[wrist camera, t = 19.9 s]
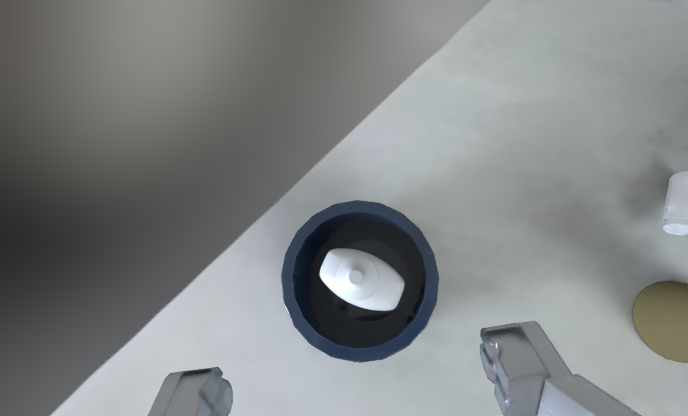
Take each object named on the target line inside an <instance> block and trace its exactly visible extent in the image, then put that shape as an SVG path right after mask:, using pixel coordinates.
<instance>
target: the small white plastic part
mask: <svg viewBox="0 0 688 416" xmlns="http://www.w3.org/2000/svg"><path fill="white" fill-rule="evenodd" d="M661 224H662V225H663V226H664V227H663V229H664V231H666V232H667V233H670V234H674V235H687V234H688V171H682V172H678V173H676V174H674V175H672V176H671V177H670V179H669V185H668V190H667V196H666V201H665V206H664V212H663V217H662V221H661Z"/></svg>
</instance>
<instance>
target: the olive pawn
mask: <svg viewBox="0 0 688 416" xmlns="http://www.w3.org/2000/svg"><path fill="white" fill-rule="evenodd" d="M633 320H634V324H635V327H636V330H637V332H638V333H639V335H640V337H641V338H642V340H643V341H644V342H645V343H646V344H647V345H648V346H649V347H650V348H651V349H652V350H653V351H654V352H656V353H657V354H659V355H661V356H663V357H664V358H666V359H670V360H673V361H677V362H682V363H688V284H685V283H678V282H671V281H670V282H657V283H655V284H652V285H650V286H647V287H646V288H645V289H644V290H643V291H642V292H640V293H639V294H638V296H637V298H636V301H635V303H634V306H633Z"/></svg>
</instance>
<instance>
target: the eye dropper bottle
mask: <svg viewBox="0 0 688 416" xmlns="http://www.w3.org/2000/svg"><path fill="white" fill-rule="evenodd" d="M320 277H321V279H322V281H323V282H324V283H325V284H326V286H327V287H328V288H329V289H330V290H331V291H333V292H334V293H335V294H336V295H337V296H339V297H340V298H342V299H343V300H345V301H347V302H349V303H351V304H353V305H356V306H358V307H361V308H365V309H370V310H378V311H389V310H393V309H395V307H396V306H397V305H398V303H399V300H400V298H401V295H402V293H403V290H404V284H405V283H404V280H403V278H402V277H401V276H400V275H399V274H398V273H397V272H396V271H395V270H394V269H393V268H392V267H391V266H390V265H388V264H387V263H386V262H384V261H383V260H381V259H379V258H377V257H376V256H373V255H371V254H369V253H366V252H363V251H359V250H354V249H345V248H338V249H333V250H330V251H329V252H328V253H327V255H326V257H325V259H324V262H323V264H322V266H321V269H320Z"/></svg>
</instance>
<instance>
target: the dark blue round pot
mask: <svg viewBox="0 0 688 416" xmlns="http://www.w3.org/2000/svg"><path fill="white" fill-rule="evenodd" d="M338 248H345V249H354V250H359V251H363V252H366V253H369V254H371V255H373V256H376V257H377V258H379V259H381V260H383V261H384V262H386V263H387V264H388V265H390V266H391V267H392V268H393V269H394V270H395V271H396V272H397V273H398V274H399V275H400V276H401V277H402V278H403V280H404V283H405V284H404V290H403V293H402V295H401V298H400V300H399V303H398V305H397V306H396V307H395V309H393V310H389V311H378V310H370V309H365V308H361V307H358V306H356V305H353V304H351V303H349V302H347V301H345V300H343V299H342V298H340V297H339V296H337V295H336V294H335V293H334V292H333V291H331V290H330V289H329V288H328V287H327V286H326V284H325V283H324V282H323V281H322V279H321V277H320V269H321V266H322V264H323V262H324V259H325V257H326V255H327V253H328V252H329V251H330V250H333V249H338ZM281 283H282V292H283V301H284V304H285V307H286V309H287V311H288V314H289V316H290V318H291V321H292V323H293V325H294V326H295V328H296V329H297V330H298V331H299V332H300V333H301V334H302V336H303V337H304V338H305V339H306V340H307V341H308V342H309V344H311V345H312V346H314V347H315V348H317V349H319V350H321V351H322V352H324V353H326V354H327V355H329V356H331V357H334V358H337V359H342V360H347V361H353V362H359V363H361V362H368V361H375V360H382V359H384V358H387V357H389V356H391V355H393V354H395V353H397V352H399V351H401V350H403V349H404V348H406V347H407V346H409V345H410V344H411V343H412V342H413V341H414V340H415V339H416V337H417V336H418V335H419V334H420V333H421V332H422V331H423V330H424V329H425V327H426V326H427V324H428V321H429V319H430V317H431V315H432V312H433V310H434V308H435V305H436V303H437V294H438V283H439V275H438V270H437V266H436V261H435V257H434V253H433V250H432V249H431V247H430V245H429V243H428V242H427V240H426V238H425V237H424V235H423V233H422V231H420V229H419V228H418V227H417V226H416V225H415V224H414V223H412V222H411V221H410V220H409V219H408V218H407V217H406V216H405V215H404V214H402V213H401V212H398V211H396V210H394V209H392V208H390V207H387V206H385V205H383V204H380V203H375V202H367V201H359V200H356V201H350V202H345V203H339V204H335V205H332V206H330V207H329V208H327V209H325V210H323V211H321V212H319V213H317V214H315V215H314V216H312V217H311V218H310V219H309V220H308V221H307V222H306V223H305V224H304V225H303V226H302V227H301V228H300V229H299V230H298V231H297V233H296V235H295V236H294V238H293V240H292V242H291V244H290V246H289V248H288V250H287V251H286V254H285V258H284V264H283V269H282V274H281Z"/></svg>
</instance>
